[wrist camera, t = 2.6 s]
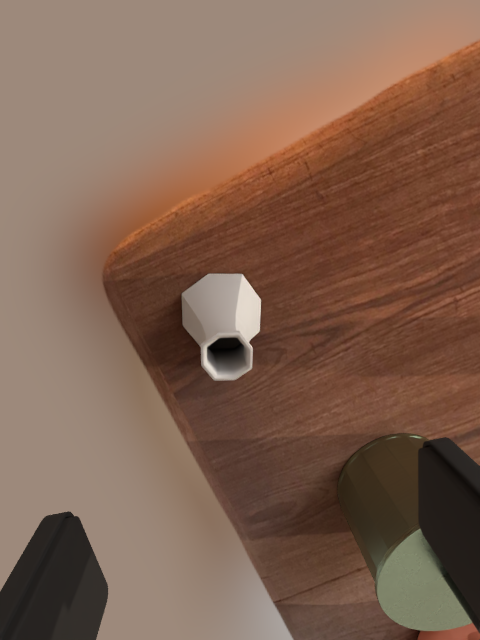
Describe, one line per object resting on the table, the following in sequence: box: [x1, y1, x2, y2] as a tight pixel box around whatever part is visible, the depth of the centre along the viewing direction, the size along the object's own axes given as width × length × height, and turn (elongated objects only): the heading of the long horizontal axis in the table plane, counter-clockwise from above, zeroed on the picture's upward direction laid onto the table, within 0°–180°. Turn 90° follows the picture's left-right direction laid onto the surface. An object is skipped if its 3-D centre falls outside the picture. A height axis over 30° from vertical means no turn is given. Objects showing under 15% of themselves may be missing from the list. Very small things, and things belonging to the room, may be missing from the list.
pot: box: [337, 433, 429, 581], centre depth 31 cm, size 13×13×10 cm
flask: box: [182, 274, 261, 381], centre depth 24 cm, size 7×7×10 cm
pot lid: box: [375, 523, 480, 633], centre depth 25 cm, size 14×14×5 cm
